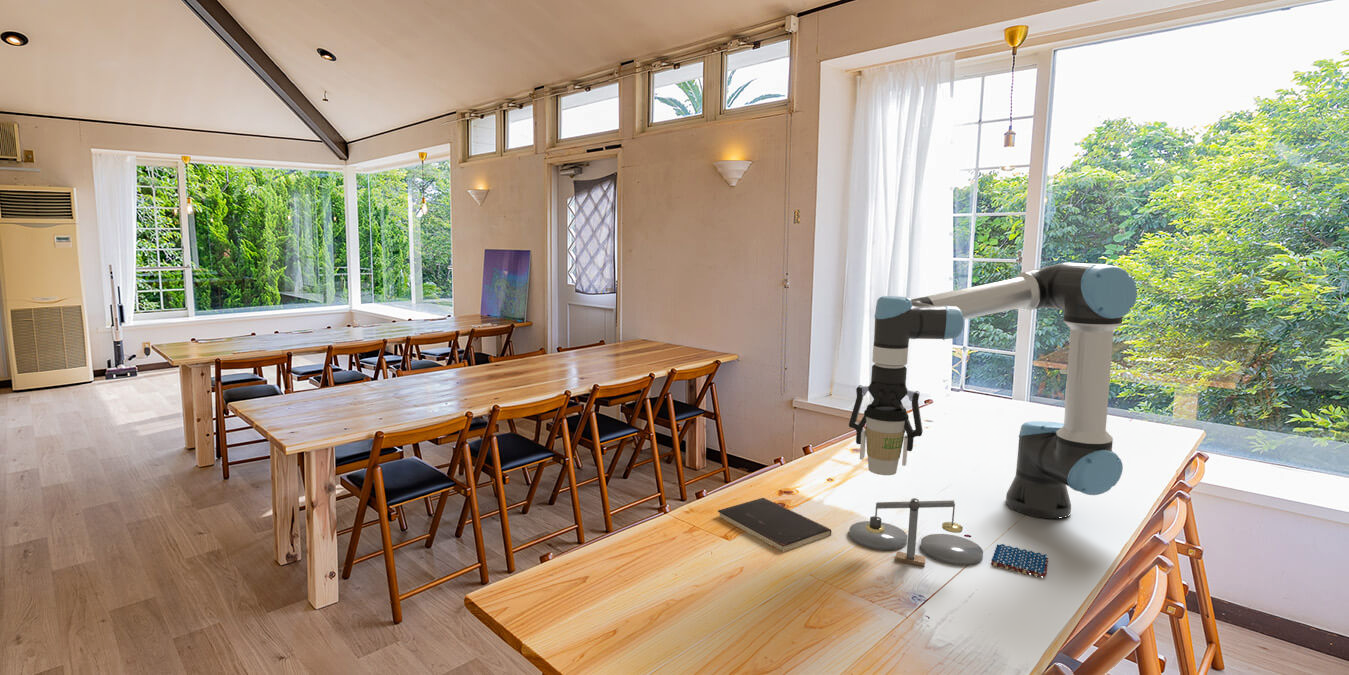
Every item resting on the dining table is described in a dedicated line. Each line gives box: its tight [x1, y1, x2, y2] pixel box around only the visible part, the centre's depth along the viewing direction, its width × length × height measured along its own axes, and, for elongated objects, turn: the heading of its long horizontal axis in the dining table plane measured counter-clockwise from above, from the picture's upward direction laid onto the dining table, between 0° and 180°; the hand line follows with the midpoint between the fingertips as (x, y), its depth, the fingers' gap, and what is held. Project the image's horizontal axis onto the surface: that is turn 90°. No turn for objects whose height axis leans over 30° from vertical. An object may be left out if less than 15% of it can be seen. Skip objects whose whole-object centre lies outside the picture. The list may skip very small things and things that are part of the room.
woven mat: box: [990, 543, 1049, 577], centre depth 147 cm, size 10×11×2 cm
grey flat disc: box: [920, 533, 984, 566], centre depth 152 cm, size 13×13×1 cm
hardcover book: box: [717, 497, 832, 552], centre depth 163 cm, size 16×23×2 cm
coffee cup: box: [863, 403, 909, 476], centre depth 155 cm, size 10×10×15 cm
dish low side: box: [849, 520, 908, 551], centre depth 158 cm, size 13×13×1 cm
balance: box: [866, 497, 964, 568], centre depth 146 cm, size 20×4×15 cm, turn 66°
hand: (883, 460), depth 155 cm, fingers closed on coffee cup, 9 cm apart
